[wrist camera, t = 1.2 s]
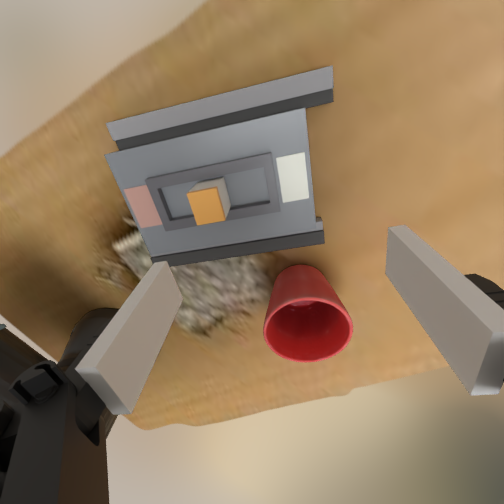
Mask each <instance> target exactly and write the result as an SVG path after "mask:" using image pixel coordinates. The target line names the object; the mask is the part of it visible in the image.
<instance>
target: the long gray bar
mask: <svg viewBox="0 0 504 504" xmlns="http://www.w3.org/2000/svg"><path fill="white" fill-rule="evenodd" d="M315 219H316V229H310V230H304V231H297V232H291V233H285V234H279V235H272V236H266V237H260V238H254V239H247V240H241V241H235V242H229V243H222V244H216V245H210V246H204V247H197V248H191V249H185V250H179V251H172V252H166V253H160V254H154V255H151V256H152V257H151V260H152V262H153V264H154V263H156V262H162V261H167V262H168V265H169V267H171V266H178V265H185V264H191V263H198V262H205V261H211V260H218V259H224V258H231V257H238V256H244V255H251V254H258V253H264V252H271V251H278V250H284V249H291V248H298V247H304V246H311V245H318V244H324V243H325V242H324V231H323V223H322V219H321V217H318V218H315Z"/></svg>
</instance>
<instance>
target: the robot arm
mask: <svg viewBox="0 0 504 504" xmlns="http://www.w3.org/2000/svg"><path fill="white" fill-rule="evenodd" d="M385 274H386V275H387V277H388V278H389V279H390V281H391V282H392V284H393V285H394V287H395V288H396V290H397V291H398V292H399V294H400V295H401V297H402V298H403V300H404V301H405V302H406V304H407V305H408V307H409V308H410V310H411V311H412V312H413V314H414V315H415V317H416V318H417V320H418V321H419V322H420V324H421V325H422V327H423V328H424V330H425V331H426V332H427V334H428V335H429V337H430V338H431V340H432V341H433V342H434V344H435V345H436V347H437V348H438V350H439V351H440V352H441V354H442V355H443V357H444V358H445V360H446V361H447V362H448V364H449V365H450V367H451V368H452V369H453V371H454V372H455V374H456V375H457V376H458V378H459V380H460V381H461V382H462V384H463V385H464V386H465V388H466V390H467V391H468V392H469V394H470V395H487V394H499V391H500V389H501V387H502V385H503V382H504V290H503V289H501V288H500V287H499V286H498V285H496V284H495V283H494V282H492V281H490V280H488V279H486V278H484V277H482V276H479V275H477V274H469V275H463V274H462V273H461V272H459V271H458V270H457V269H456V268H455V267H454V266H452V265H451V264H450V263H449V262H448V261H447V260H445V259H444V258H443V257H442V256H441V255H440V254H438V253H437V252H436V251H435V250H434V249H433V248H431V247H430V246H429V245H428V244H427V243H426V242H425V241H423V240H422V239H421V238H420V237H419V236H418V235H416V234H415V233H414V232H413V231H412V230H411V229H409V228H408V227H407V226H406V225H400V226H394V227H388V240H387V256H386V273H385ZM182 301H183V297H182V295H181V293H180V290H179V288H178V286H177V283H176V281H175V279H174V276H173V274H172V272H171V269H170V267H169V265H168V262H167V261H162V262H156V263H154V264H153V265H152V266H151V268H150V269H149V270H148V272H147V273H146V274H145V276H144V277H143V278H142V280H141V281H140V282H139V284H138V285H137V286H136V288H135V289H134V290H133V292H132V293H131V294H130V296H129V297H128V298H127V300H126V301H125V302H124V304H123V305H122V306H121V308H120V309H119V310H117V309H109V308H104V309H96V310H93V311H90V312H88V313H87V314H85V315H84V316H83V317H82V318H81V319H80V321H79V322H78V323H77V324H76V325H75V326H74V328H73V330H72V333H71V336H70V339H69V342H68V344H67V346H66V348H65V350H64V353H63V355H62V357H61V359H60V361H59V362H58V364H56V363H55V362H53V361H51V360H47V359H46V358H45V357H43V356H42V355H41V354H39V353H38V352H37V351H35V350H34V349H33V348H31V347H30V346H29V345H27V344H26V343H25V342H23V341H22V340H21V339H19V338H18V337H17V336H15V335H14V334H13V333H11V332H10V331H9V330H8V329H6V328H5V327H6V325H5V324H0V504H109V491H108V473H107V453H106V438H107V436H108V434H109V432H110V430H111V428H112V426H113V424H114V422H115V420H116V418H117V416H118V415H120V414H132V411H133V409H134V407H135V405H136V402H137V400H138V398H139V396H140V394H141V391H142V389H143V387H144V385H145V383H146V380H147V378H148V376H149V374H150V371H151V369H152V367H153V365H154V363H155V361H156V358H157V356H158V354H159V352H160V349H161V347H162V345H163V343H164V340H165V338H166V336H167V334H168V332H169V329H170V327H171V325H172V323H173V321H174V318H175V316H176V314H177V312H178V309H179V307H180V305H181V303H182Z"/></svg>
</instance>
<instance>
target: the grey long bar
mask: <svg viewBox="0 0 504 504" xmlns="http://www.w3.org/2000/svg"><path fill="white" fill-rule="evenodd" d="M333 88H334V86H333V65H332V66H329V67H325V68H321V69H317V70H313V71H309V72H305V73H301V74H297V75H293V76H289V77H285V78H281V79H278V80H274V81H270V82H266V83H262V84H258V85H254V86H250V87H246V88H242V89H238V90H234V91H231V92H227V93H223V94H219V95H215V96H211V97H207V98H203V99H199V100H195V101H191V102H187V103H183V104H180V105H176V106H172V107H168V108H164V109H160V110H156V111H152V112H148V113H144V114H140V115H136V116H133V117H129V118H125V119H121V120H117V121H113V122H109V123H106V125H107V128H108V130H109V132H110V135H111V137H112V139H113V141H116V144H117V146H118V148H119V150H120V151H121V150H125V149H129V148H134V147H138V146H142V145H146V144H151V143H155V142H159V141H164V140H168V139H172V138H176V137H181V136H185V135H189V134H193V133H198V132H202V131H206V130H211V129H215V128H219V127H223V126H228V125H232V124H236V123H240V122H245V121H249V120H253V119H258V118H262V117H266V116H270V115H275V114H279V113H283V112H287V111H292V110H296V109H300V108H309V107H314V106H318V105H322V104H326V103H331V102H333Z"/></svg>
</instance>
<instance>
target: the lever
mask: <svg viewBox="0 0 504 504" xmlns="http://www.w3.org/2000/svg"><path fill="white" fill-rule="evenodd" d="M187 197H188V200H189V203H190V206H191V209H192V212H193V214H194V217H195V220H196V223H197V225H203V224H209V223H215V222H220V221H225V220H226V217H227V215H228V212H229V210H230V207H231V203H230V199H229V196H228V192H227V188H226V184H225V180H224V177H219V178H214V179H209V180H205V181H200V182H197V183H196V185H195V186H194V187H193V188H192V189H191V190H190V191H189V192H188V193H187Z"/></svg>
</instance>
